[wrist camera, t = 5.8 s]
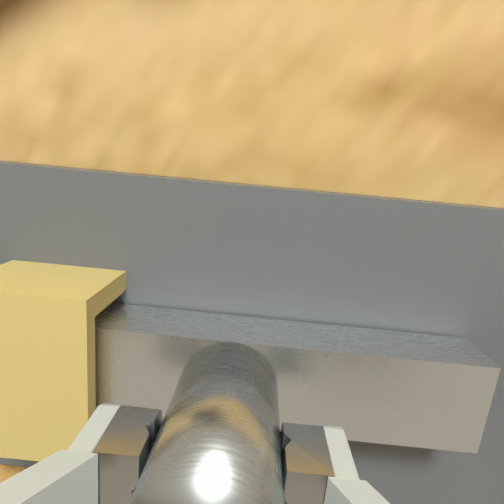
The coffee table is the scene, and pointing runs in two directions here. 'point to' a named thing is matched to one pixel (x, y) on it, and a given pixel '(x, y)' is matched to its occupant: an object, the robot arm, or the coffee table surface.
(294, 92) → the coffee table surface
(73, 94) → the coffee table surface
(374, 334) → the bolt
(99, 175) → the lock plate
